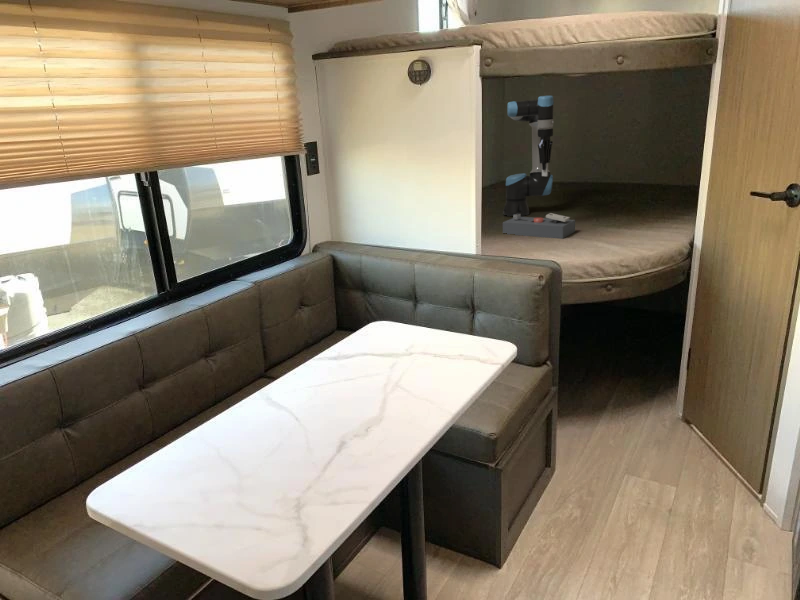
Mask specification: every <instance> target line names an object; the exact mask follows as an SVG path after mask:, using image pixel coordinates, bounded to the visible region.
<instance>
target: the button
mask: <svg viewBox="0 0 800 600" xmlns="http://www.w3.org/2000/svg"><path fill="white" fill-rule="evenodd" d="M543 218H544V217H540V216H538V217H534V222H538V223H542V222H543Z"/></svg>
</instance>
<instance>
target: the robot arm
mask: <svg viewBox="0 0 800 600" xmlns="http://www.w3.org/2000/svg"><path fill="white" fill-rule="evenodd" d="M554 103H555V102H554V96H553V95H540V96H538V98H537V99H526V100H524V99H523V100H518V101H516V100H515V101H509V102H508V103H507V107H506V108H507V110H506V111H507V117H509V118H510V119H511V120H513V121H516V122H521V123H522V122H523V123H525V122H528V125H529V126H530V127H531V149H532V150H531V156H532V157H531V161H532V162H531V164H532V165H531V166H532V167H531V168H532V169H531V170H530V172H529V175H527V173H516V174H511V175H509V176H507V177H506V179H505V204H504V207H503V209H502V210H503V211H502V215H503V214H504V215H507V216H506V217H510V216H513V215H514V214H520V217H526V216H528V215H530V209H529V206H528V202H527V197H538V196H539V197H541V196H548V195H550V194H551V193H552V189H553V182H554V176H553V174H551V171H550V170H549V163H551V157H552V156H551V155H552V148H553V147H552V146H553V142H554V141H552V140H551V137H553V136H554V129H553V128H554V123H555V121H554ZM504 215H503V216H504ZM525 215H526V216H525Z"/></svg>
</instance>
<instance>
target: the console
mask: <svg viewBox="0 0 800 600" xmlns="http://www.w3.org/2000/svg"><path fill="white" fill-rule="evenodd" d="M534 218H535V217H534V216H533V217H530V216H528V217H527V216H520V219H518V220H513V217H512V218H509V219H507V220H504V221H503V222H502V234H503V233H507V234H506V235H510V234H515V235H514V236H522V235H523V237H526V236H527V237H534V238H535V237H539V238H551V239H565V238H566V237H568V236H570V235H572V234H573V233H575V232H576V219H569V220H568V221H566V222H563V221H559V220H554V219H550V218H546V217H542V218H543V222H542V223H538V222H534Z"/></svg>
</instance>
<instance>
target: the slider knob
mask: <svg viewBox="0 0 800 600" xmlns="http://www.w3.org/2000/svg"><path fill="white" fill-rule="evenodd" d="M520 217H521V216H520V214H514V215H513V217H512V218H513V220H518V219H520Z"/></svg>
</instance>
